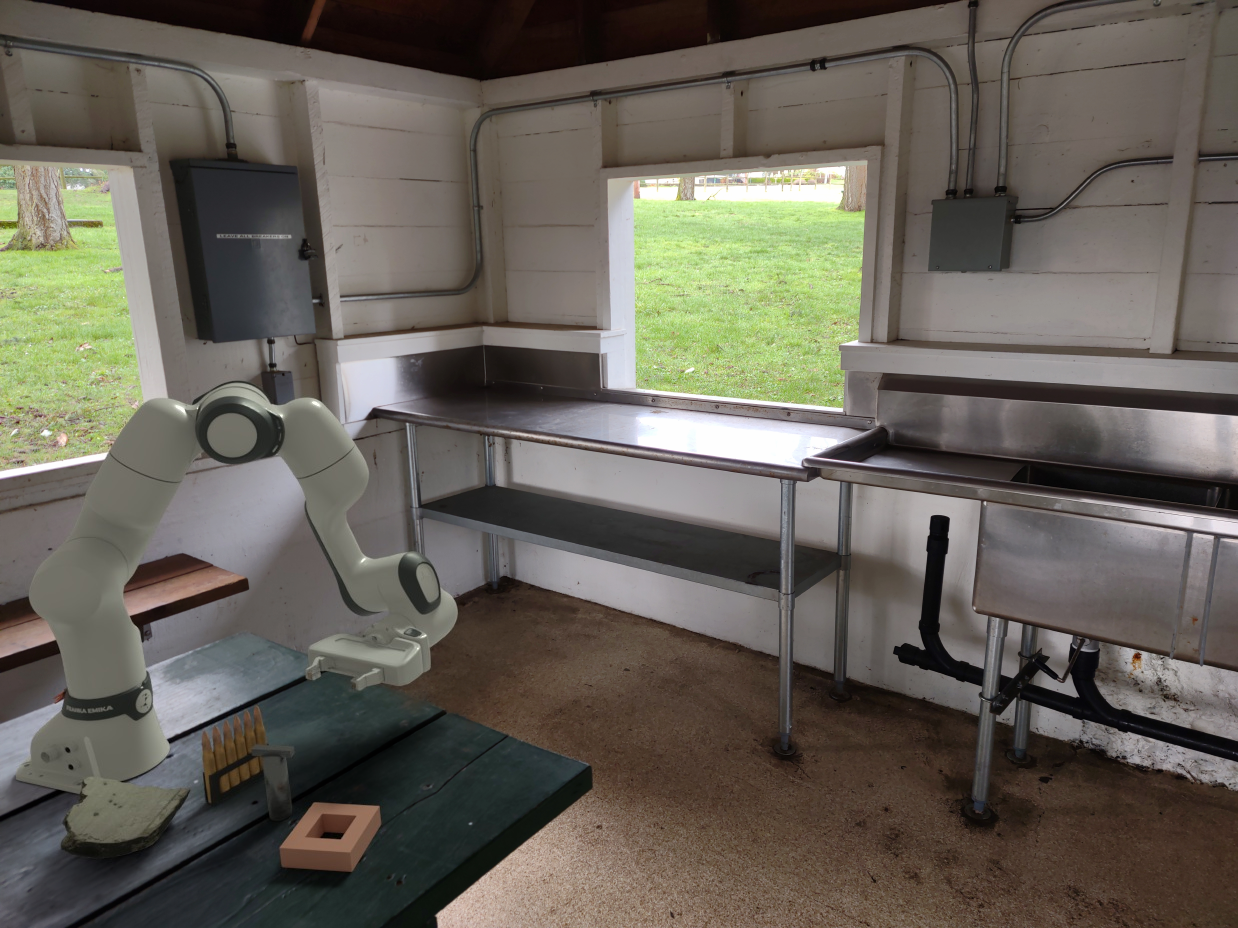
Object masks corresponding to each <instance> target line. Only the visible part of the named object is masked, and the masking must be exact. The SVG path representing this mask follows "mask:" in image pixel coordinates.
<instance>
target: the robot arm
mask: <svg viewBox="0 0 1238 928" xmlns="http://www.w3.org/2000/svg"><path fill="white" fill-rule="evenodd" d="M191 403H192V404H187V403H184V402H182V401H179V400H177V399H174V398H168V397H157V398H156V397H155V398H151V399H149V400H147V401H145V402H143V404H142V405H140V406H139V408H138V409H137V410H136V411H135V412H134V414H133V415H132V416H131V417H130V419H129V420H128V421H127V422H126V423H125V425H124V426H123V428H122V429H121V431H120V432H119V434H118V435H117V436H116V438H115V440H114V442H113V444H112V445H111V447H110V449H109V450H108V453H107V454H106V456H105V458H104V459H103V461H102V463H101V465H100V467H99V469H98V471H97V472H96V474H95V476H94V479H92V482H91V484H90V485H89V487H88V489H87V491H86V492H85V496H84V498H85V499H84V501H83V504H82V507H81V509H80V512H79V515H78V517H77V520H76V522H75V524H74V527H73V528H72V530H71V532H70V534H68V536H67V538H66V539H65V541H63V542H62V544H61V545H60V546H59V547H57V549H56V550H54V552H52V553H51V554H50V555H49V556H48V557H47V558H45V559H44V560H43V561H42V562H41V563H40V565H39V566H37V567H38V568H37V569H36V571H35V573H34V575H33V576H32V577H33V578H32V581H31V583H30V586H29V589H28V599H29V603H30V606H31V607H32V610H33V611H34V612H35V613H36V614H37V615H38V616H39V617H40V618H42V619H43V620H45V621H46V622H47V624H48V626H49V628H50V631H51V633H52V634H53V637H54V638H55V641H56V643H57V645H58V648H59V651H60V655H61V656H60V657H61V660H62V665H63V671H64V675H65V681H66V682H65V683H66V686H67V687H66V688H64V689H63V691H62V692H60V693H59V694H57V695H55V696H54V697H53V698H52V699H53V700H55V701H54V702H53V703H54V704H55V705H56V704H58V703H60V702H62V701H63V703H62V706H61V709H60V710H59V711H58V713H56V714H55V715H54V716H53V717H52V718H50V720H48V721H47V722H46V723H45V724H43V725H42V726H41V728H39V729H38V730H37V731H36V732H35V733H34V735H33V737H32V739H31V741H30V747H29V751H30V755H29V756H28V757H27V758H26V759H25V760H24V761H23V762H22V763H21V764H20V765H19V766H18V768H17V770H16V771H15V780H17V781H19V782H24V783H28V784H32V785H37V786H41V787H45V788H51V789H55V790H60V791H64V792H68V793H73V794H77V795H79V794H80V792H81V789H82V782H83V780H84V779H85V778H87V777H93V776H94V777H101V778H103V779H112V780H117V781H119V782H122V781H127V780H130V779H133V778H135V777H137V776H140V775H142V774H144V773H146V772H148V771H149V770H152V769H153V768H154V767H156V766H158V765H159V764H160V763H161V762H162V761H163V760H164V759H165V758H166V757H167V756H168V754H169V752H170V750H171V745H170V743H169V741H168V739H167V737H166V735H165V733H164V732H163V729H162V726H161V724H160V721H159V719H158V715H157V712H156V710H155V709H156V708H155V706H154V690H153V685H152V678H151V675H150V672H149V671H148V670H147V668H146V661H145V656H144V648H143V643H142V638H141V637H142V636H141V631H140V629H139V628H138V627H137V625H135V624H134V622H133V621H132V619H131V617H130V614H129V611H128V609H127V607H126V604H125V600H124V590H125V586H126V585H127V583H128V582H129V581H130V579H131V578H132V577H133V576H134V574H135V572H136V570H138V567H139V565H140V563H141V561H142V559H143V557H144V556H145V553H146V551H147V549H148V547H149V545H150V543H151V541H152V538H153V536H154V535H155V532H156V530H157V529H158V526H159V524H160V522H161V520H162V519H163V516H164V515H165V512H166V511H167V509H168V508H169V505H170V504H171V502H172V500H173V498H174V496H175V495H176V493H177V491H178V490H179V487H180V486H181V483H182V482H183V480H184V479H185V476H186V475H187V473H188V471H189V469H190V467H191V465H192V463H193V462H194V461H195V460H196V458H197V457H198V456H200V454H202V453H205V454H206V456H208V457H210V458H211V459H212V460H214V461H216V462H218V463H222V464H225V465H243V464H247V463H250V462H254V461H258V460H263V459H268V458H272V457H275V456H276V455H278V456H279V457H280V458H281V459H282V460H283V461H284V463H285V465H286V466H287V467H288V468H289V470H290V472H291V473H292V475H293V476H294V477H295V479H296V481H297V483H298V484H299V486H300V487H301V489H302V492H303V495H304V498H305V500H304V512H305V516H306V519H307V521H308V524H309V526H310V529H311V531H312V534H313V535H314V537H315V538H316V542H317V543H318V545H319V547H320V549H321V551H322V553H323V555H324V557H325V559H326V561H327V563H328V565H329V566H330V568H331V570H332V573H333V575H334V577H335V579H336V580H335V581H336V582H337V583H336V584H337V586H338V590H339V594H340V597H341V599H342V601H343V603H344V604H345V606H346V607H347V608H348V609H349V611H350V612H352V613H354V614H355V615H358V616H360V617H370V616H372V615H376V614H379V613H383V612H387V611H388V614H387V616H384V617H383V618H381V619H379V620H378V621H376V622H374V623H373V624H370V625H369V626H368V627H367V628H366V629H365V631H364V633H363V636H362V635H356V634H350V633H344V632H343V633H335V634H332V635H330V636H327V637H325V638H323V639H320V640H318V641H317V642H315V643H313V644H310V646H308V650H307V659H308V664H309V667H307V668H306V669H305V670H304V673H305V679H307V680H310V681H311V680H312V681H316V679H319V678H321V676H322V675H321V672H325V671H327V672H331V673H336V674H341V675H345V676H348V677H349V676H350V677H352V679H351V680H350V684H351V685H350V688H351V689H352V690H356V691H362V690H364V689H365V688H366V687H371V686H375V685H378V684H381V683H382V684H387V685H391V686H395V687H401V686H407V685H409V684H410V683H412V682H413V681H415V680H416V679H418V678H419V677H420V676H421V675H422V674H424V673H427V672H428V671H430V669H431V650H430V648H431V647H433V646H434V645H436V644H437V643H438V642H439V641H441V640H442V639H443V638H445V637H446V636H447V635H448V634H449V633H450V632H451V631H452V629H453V628H454V626H455V624H456V623H457V620H458V615H459V613H458V611H459V610H458V606H457V602H456V600H455V599H454V597H453V596H452V595H451V594H450V593H449V592H447V591H446V590H444V589H443V588H442V587H441V583H440V579H439V576H438V573H437V570H436V568H435V567H434V565H433V563H432V562H431V560H430V559H429V558H428V557H427V556H425V555H424V554H422V553H421V552H419V551H415V550H414V551H413V550H412V551H411V550H410V551H407V552H401V553H397V554H396V553H395V554H391V555H389V556H384V557H379V558H371V557H369V556H366V555H365V554H364V553H363V552H362V550H361V548H360V546H359V544H358V541H357V539H356V537H355V535H354V533H353V531H352V530H351V528H350V525H349V523H348V520H347V512H348V510H350V508H352V507H353V506H354V505H355V504H356V503H357V502H358V501H359V499H360V498H361V497H362V496H363V494H364V493H365V492H366V489H367V487H368V485H369V484H368V483H369V479H370V478H369V477H370V470H369V466H368V465H367V464H368V463H367V461H366V459H365V458H364V456H363V454H362V452H361V451H360V449H359V448H358V446H357V444H356V443H355V441H354V439H352V437H351V435H350V434H349V432H348V431H347V430H346V428H345V427H344V426H343V424H342V423H341V422H340V421H339V419H338V418H337V417H336V416H335V415H334V413H333V412H332V411H331V410H330V409H329V408H328V407H327V406H326V405H325V404H324V403H323V402H322V401H321V400H318V399H316V398H314V397H299V398H296V399H292V400H290V401H288V402H287V403H285V404H280V405H279V404H278V405H277V404H273V401H272V400H271V397H269V395H268V393H266V391H264V389H263V388H261V387H260V386H259V385H256V384H255V383H252V382H249V381H246V380H231V381H226V382H223V383H220V384H219V385H217V386H216V385H215V387H213V388H211V389H210V390H209V391H207V392H205V393H203V394H202V395H200V396H198V397H196V398H194V400H193V401H192V402H191Z"/></svg>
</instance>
